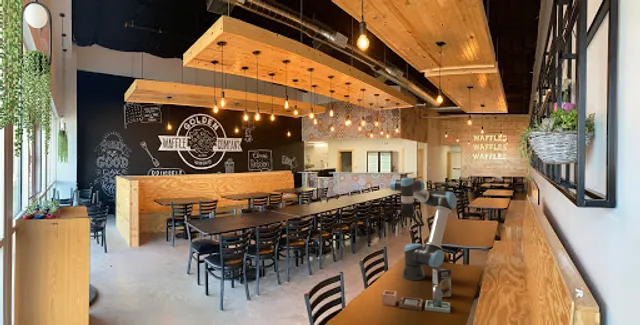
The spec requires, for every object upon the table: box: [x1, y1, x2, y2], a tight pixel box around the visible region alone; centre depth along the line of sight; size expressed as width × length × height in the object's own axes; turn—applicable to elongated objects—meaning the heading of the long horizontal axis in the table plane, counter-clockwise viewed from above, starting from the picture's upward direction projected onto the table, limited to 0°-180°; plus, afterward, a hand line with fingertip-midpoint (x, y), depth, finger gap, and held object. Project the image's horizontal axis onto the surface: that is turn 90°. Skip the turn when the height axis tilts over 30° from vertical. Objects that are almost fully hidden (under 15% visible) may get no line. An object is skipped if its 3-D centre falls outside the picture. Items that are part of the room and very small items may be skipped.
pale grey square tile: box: [404, 299, 418, 305], centre depth 212 cm, size 7×7×1 cm
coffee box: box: [432, 266, 452, 298], centre depth 226 cm, size 9×6×16 cm
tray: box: [424, 299, 451, 314], centre depth 207 cm, size 10×13×2 cm
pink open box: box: [381, 289, 398, 307], centre depth 215 cm, size 7×7×6 cm
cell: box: [432, 285, 443, 308], centre depth 207 cm, size 5×5×12 cm
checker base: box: [398, 296, 424, 311], centre depth 212 cm, size 12×12×2 cm
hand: (407, 236), depth 232 cm, fingers open, 13 cm apart
